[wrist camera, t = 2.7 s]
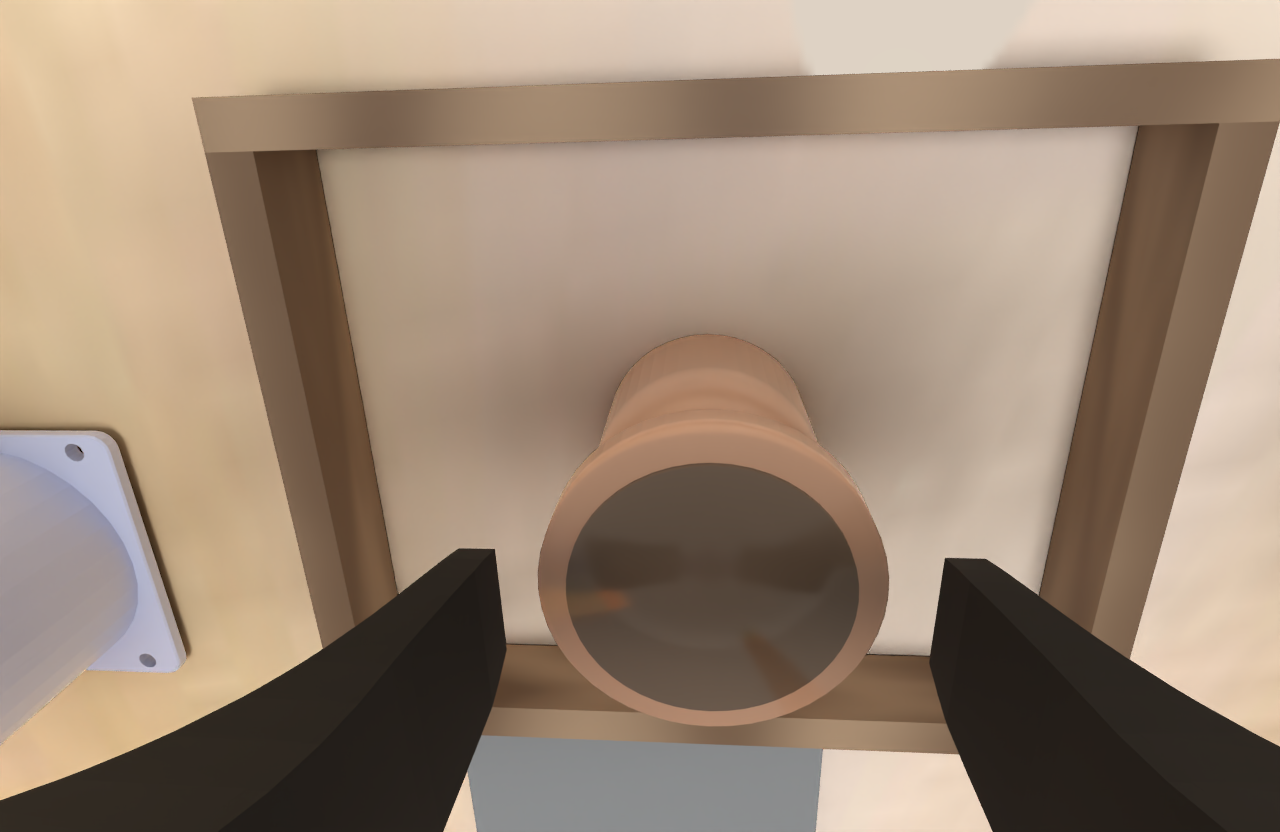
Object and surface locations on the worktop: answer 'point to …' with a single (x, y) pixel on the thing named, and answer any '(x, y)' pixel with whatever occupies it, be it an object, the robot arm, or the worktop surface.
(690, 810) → the potting mat
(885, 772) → the worktop surface
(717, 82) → the cold frame
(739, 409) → the terracotta pot
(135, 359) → the worktop surface
